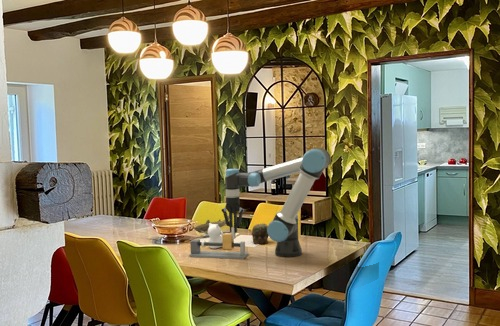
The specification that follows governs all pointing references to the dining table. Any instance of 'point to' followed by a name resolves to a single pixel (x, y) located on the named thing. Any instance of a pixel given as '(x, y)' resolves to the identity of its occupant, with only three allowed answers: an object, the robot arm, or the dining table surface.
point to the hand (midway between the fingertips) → (233, 238)
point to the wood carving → (204, 227)
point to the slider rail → (216, 254)
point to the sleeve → (227, 241)
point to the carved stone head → (260, 234)
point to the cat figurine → (215, 234)
